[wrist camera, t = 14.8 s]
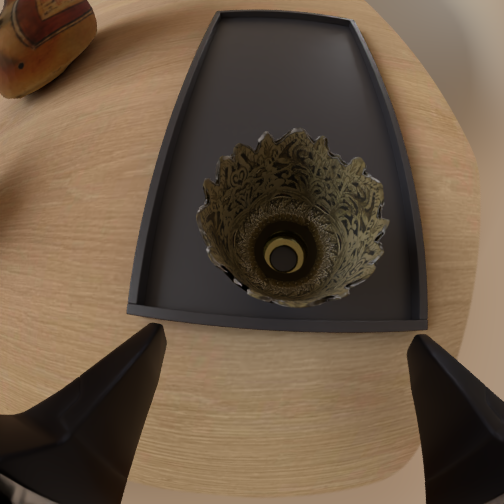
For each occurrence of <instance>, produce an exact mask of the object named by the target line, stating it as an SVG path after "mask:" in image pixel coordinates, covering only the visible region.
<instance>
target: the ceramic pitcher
mask: <svg viewBox="0 0 504 504" xmlns="http://www.w3.org/2000/svg"><path fill="white" fill-rule="evenodd" d="M96 32H97V22H96V18H95V15H94V12H93V9H92V7H91V6H90V4H89V3H88V1H87V0H4V6H3V10H2V12H1V14H0V94H1V95H2V96H3V97H5V98H7V99H11V98H13V99H15V98H22V97H24V96H26V95H28V94H30V93H33V92H34V91H36V90H38V89H40V88H41V87H43V86H44V85H46V84H47V83H49V82H51V81H52V80H53V79H55V78H56V77H58V76H59V75H60V74H61V73H62V72H64V70H65V69H66V68H67V66H68V65H69V64H70V63H71V62H72V61H73V60H74V59H75V58H76V57H77V56H78V55H79V54H80V53H82V52H83V51H84V50H85V49H86V48H87V46H88V45H89V44H90V43H91V41H92V40H93V38H94V37H95V35H96Z"/></svg>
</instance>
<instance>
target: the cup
mask: <svg viewBox="0 0 504 504" xmlns="http://www.w3.org/2000/svg"><path fill="white" fill-rule="evenodd" d="M230 157H231V158H230ZM366 168H367V166H366V164H365V162H364V161H363V160H362V158H360V157H355V158H354V159H352V160H351V161H350V162H349V164H347V163H346V162H345V161H343V160H342V158H341V156H340V155H339V154H333V153H332V152H330V150H329V148H328V139H327V138H326V137H325V136H319V137H318V138H317V139H316V140H315V141H314V140H313V139H312V138H311V137H310V135H309V134H308V133H307V132H306V130H304V129H303V128H293V129H292V130H290V131H288V132H287V133H286V134H284V135H283V137H282V138H280V139H277V140H274V138H273V137H272V135H270V134H269V132H268V131H265V132H264V133H263V134H262V135H261V137H260V138H259V139H258V144H257V147H256V150H254V149H253V148H252V147H251V146H249V145H248V146H247V145H245V144H242V143H238V144H237V145H235V147H234V150H233V154H231V155H230V156H221V157H220V158H219V160H218V162H217V166H216V183H214V182H213V181H211V180H210V178H208V179H205V180H204V183H203V191H204V194H205V202H204V205H203V206H200V207H199V209H198V211H197V215H196V220H197V224H198V227H199V231H200V233H201V235H202V238H203V240H204V242H205V244H206V246H207V248H206V251H207V254H208V256H209V258H210V260H211V261H212V263H213V264H214V265H215V266H216V267H217V268H219V269H221V270H222V271H223V272H224V273H225V274H226V275H227V276H228V277H229V278H230V280H231V281H232V282H233V283H235V284H236V285H237V286H239V287H240V288H241V289H243V290H244V291H246V292H247V294H248V295H250V296H252V297H254V298H257V299H260V300H262V301H265V302H269V303H273V304H278V305H281V306H286V307H293V308H305V307H312V306H316V305H320V304H322V303H325V302H328V301H331V300H338V299H341V298H344V297H346V296H348V295H349V294H350V293H349V289H350V288H352V287H354V286H356V285H358V284H360V283H362V282H364V281H365V280H366V279H368V278H369V277H370V276H371V275H372V274H373V272H374V271H375V268H376V266H374V265H376V264H377V262H378V260H379V259H380V258H381V257H382V255H383V254H384V249H383V247H382V243H380V242H379V240H380V239H381V237H382V236H383V235H384V234H385V232H386V229H387V227H388V225H389V222H390V220H388V219H384V218H382V208H383V206H384V193H383V185H382V183H381V182H380V181H379V180H377V179H375V178H374V177H372V176H371V175H369V174H368V173H367V172H366ZM281 246H286V247H289V248H291V249H292V250H293V251H294V252H295V254H296V264H295V266H294V267H293V268H292V269H290V270H288V271H280V270H277V269H276V268H275V267H274V266H273V265H272V262H271V255H272V252H273V251H274V250H275V249H276V248H278V247H281Z"/></svg>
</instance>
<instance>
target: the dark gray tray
mask: <svg viewBox="0 0 504 504" xmlns="http://www.w3.org/2000/svg"><path fill="white" fill-rule="evenodd" d="M293 128H303V129H304V130H306V132H307V133H308V134H309V135H310V137H311V138H312V139H313V140H314V141H315V140H316V139H317V138H318V137H319V136H325V137H326V138H327V139H328V148H329V150H330V152H332V153H333V154H339V155H340V156H341V158H342V160H343V161H345V162H346V163H347V164H349V162H350V161H351V160H352V159H354V158H355V157H360V158H362V160H363V161H364V162H365V164H366V166H367V168H366V172H367V173H368V174H369V175H371V176H372V177H374V178H375V179H377V180H379V181H380V182H381V183H382V185H383V193H384V206H383V208H382V218H384V219H388V220H390V222H389V225H388V227H387V229H386V232H385V234H384V235H383V236H382V237H381V239H380V240H379V242H380V243H382V247H383V249H384V254H383V255H382V257H381V258H380V259H379V260H378V262H377V264H376V265H374V266H376V268H375V271H374V272H373V274H372V275H371V276H370V277H369V278H368V279H366V280H365V281H364V282H362V283H360V284H358V285H356V286H354V287H352V288H350V289H349V293H350V294H349V295H348V296H346V297H344V298H341V299H338V300H331V301H328V302H325V303H322V304H320V305H316V306H312V307H305V308H293V307H286V306H281V305H278V304H273V303H269V302H265V301H262V300H260V299H257V298H254V297H252V296H250V295H248V294H247V292H246V291H244V290H243V289H241V288H240V287H239V286H237V285H236V284H235V283H233V282H232V281H231V280H230V278H229V277H228V276H227V275H226V274H225V273H224V272H223V271H222V270H221V269H219V268H217V267H216V266H215V265H214V264H213V263H212V261H211V260H210V258H209V256H208V254H207V251H206V248H207V246H206V244H205V242H204V240H203V238H202V235H201V233H200V231H199V227H198V224H197V220H196V215H197V211H198V209H199V207H200V206H203V205H204V202H205V194H204V191H203V183H204V180H205V179H208V178H210V180H211V181H213V182H214V183H216V166H217V162H218V160H219V158H220V157H221V156H230V155H231V154H233V150H234V147H235V145H237V144H238V143H242V144H245V145H247V146H248V145H249V146H251V147H252V148H253V149H254V150H256V147H257V144H258V139H259V138H260V137H261V135H262V134H263V133H264V132H265V131H268V132H269V134H270V135H272V137H273V138H274V140H277V139H280V138H282V137H283V135H284V134H286V133H287V132H288V131H290V130H292V129H293ZM230 158H231V157H230ZM271 262H272V265H273V266H274V267H275V268H276V269H277V270H280V271H288V270H290V269H292V268H293V267H294V266H295V264H296V254H295V252H294V251H293V250H292V249H291V248H289V247H286V246H281V247H278V248H276V249H275V250H274V251H273V252H272V255H271ZM127 314H130V315H136V316H142V317H149V318H155V319H162V320H169V321H177V322H185V323H193V324H202V325H211V326H221V327H232V328H244V329H257V330H273V331H293V332H328V333H366V332H399V331H418V330H427V329H428V320H427V319H428V300H427V275H426V261H425V251H424V241H423V233H422V226H421V219H420V212H419V206H418V201H417V195H416V190H415V185H414V181H413V176H412V172H411V167H410V163H409V159H408V155H407V151H406V148H405V144H404V141H403V137H402V134H401V130H400V127H399V124H398V121H397V118H396V115H395V112H394V109H393V106H392V103H391V100H390V98H389V95H388V92H387V90H386V87H385V85H384V82H383V80H382V77H381V75H380V73H379V70H378V68H377V66H376V63H375V61H374V59H373V57H372V55H371V52H370V50H369V48H368V46H367V44H366V42H365V40H364V38H363V36H362V34H361V32H360V31H359V29H358V27H357V25H356V23H355V21H354V20H352V19H347V18H341V17H336V16H330V15H323V14H315V13H307V12H297V11H283V10H227V11H217V12H216V13H215V15H214V17H213V19H212V21H211V23H210V25H209V27H208V29H207V31H206V33H205V35H204V37H203V39H202V41H201V44H200V46H199V48H198V50H197V52H196V55H195V57H194V59H193V61H192V64H191V66H190V68H189V71H188V73H187V76H186V78H185V80H184V83H183V85H182V88H181V91H180V93H179V96H178V98H177V101H176V104H175V107H174V109H173V112H172V115H171V118H170V121H169V124H168V127H167V130H166V133H165V136H164V139H163V142H162V145H161V149H160V152H159V155H158V159H157V162H156V166H155V169H154V173H153V176H152V180H151V184H150V188H149V192H148V196H147V200H146V204H145V208H144V213H143V217H142V222H141V226H140V231H139V236H138V241H137V246H136V252H135V257H134V263H133V269H132V276H131V282H130V289H129V297H128V304H127Z"/></svg>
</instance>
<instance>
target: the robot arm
mask: <svg viewBox="0 0 504 504" xmlns="http://www.w3.org/2000/svg"><path fill="white" fill-rule="evenodd" d="M166 345H167V341H166V337H165V333H164V329H163V326H162V325H161V324H158V323H149V324H148V325H147V326H145V327H144V328H143V329H141V330H140V331H139V332H137V333H136V334H135V335H133V336H132V337H131V338H129V339H128V340H127V341H125V342H124V343H123V344H121V345H120V346H119V347H117V348H116V349H115V350H113V351H112V352H111V353H109V354H108V355H107V356H105V357H104V358H103V359H102V360H100V361H99V362H98V363H96V364H95V365H94V366H92V367H91V368H90V369H88V370H87V371H86V372H84V373H83V374H82V375H80V377H78V378H76V379H75V380H74V381H72V382H71V383H70V384H68V385H67V386H65V387H64V388H63V389H61V390H60V391H58V392H57V393H55V394H54V395H52V396H50V397H49V398H47V399H45V400H44V401H42V402H40V403H39V404H37V405H35V406H34V407H32V408H30V409H29V410H27V411H25V412H22V413H20V414H15V415H0V504H121V500H122V497H123V493H124V489H125V486H126V482H127V478H128V475H129V471H130V468H131V465H132V461H133V458H134V455H135V451H136V448H137V445H138V442H139V439H140V435H141V432H142V429H143V426H144V423H145V420H146V417H147V414H148V411H149V408H150V405H151V402H152V399H153V396H154V393H155V390H156V387H157V384H158V381H159V376H160V372H161V367H162V363H163V359H164V354H165V350H166ZM407 360H408V367H409V374H410V383H411V390H412V395H413V400H414V405H415V410H416V416H417V421H418V427H419V433H420V440H421V447H422V455H423V464H424V474H425V481H426V482H425V490H426V504H504V402H503V401H502V400H501V399H500V398H499V397H497V396H496V395H495V394H494V393H493V392H492V391H491V390H490V389H488V388H487V387H486V386H485V385H484V384H483V383H482V382H481V381H480V380H479V379H478V378H476V377H475V376H474V375H473V374H472V373H470V371H469V370H467V369H466V368H465V367H464V366H463V365H462V364H461V363H459V362H458V361H457V360H456V359H455V358H454V357H452V356H451V355H450V354H449V353H448V352H447V351H445V350H444V349H443V348H442V347H441V346H440V345H438V344H437V343H436V342H435V341H434V340H432V339H431V338H430V337H429V336H428V335H426V334H418V335H416V336H415V337H414V339H413V341H412V343H411V344H410V346H409V348H408V351H407Z"/></svg>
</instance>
